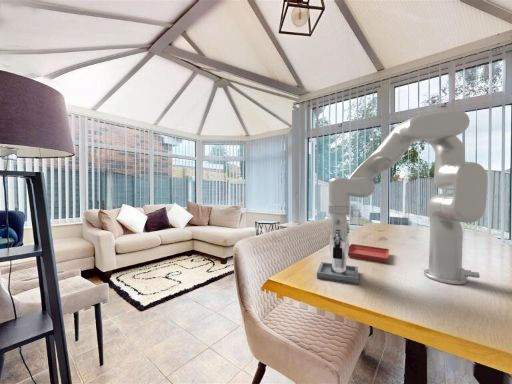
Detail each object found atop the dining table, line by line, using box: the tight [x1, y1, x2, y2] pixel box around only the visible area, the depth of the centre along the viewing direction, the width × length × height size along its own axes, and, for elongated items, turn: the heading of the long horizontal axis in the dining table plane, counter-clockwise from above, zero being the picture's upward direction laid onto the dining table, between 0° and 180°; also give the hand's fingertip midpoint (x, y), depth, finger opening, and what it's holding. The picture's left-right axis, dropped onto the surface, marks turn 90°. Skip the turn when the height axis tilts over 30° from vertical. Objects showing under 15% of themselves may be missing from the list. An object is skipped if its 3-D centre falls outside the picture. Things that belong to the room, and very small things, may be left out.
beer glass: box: [329, 232, 350, 276], centre depth 88 cm, size 7×7×15 cm
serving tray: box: [316, 261, 359, 286], centre depth 88 cm, size 14×13×2 cm
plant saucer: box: [348, 243, 390, 263], centre depth 113 cm, size 18×18×3 cm
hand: (338, 254), depth 88 cm, fingers open, 9 cm apart
